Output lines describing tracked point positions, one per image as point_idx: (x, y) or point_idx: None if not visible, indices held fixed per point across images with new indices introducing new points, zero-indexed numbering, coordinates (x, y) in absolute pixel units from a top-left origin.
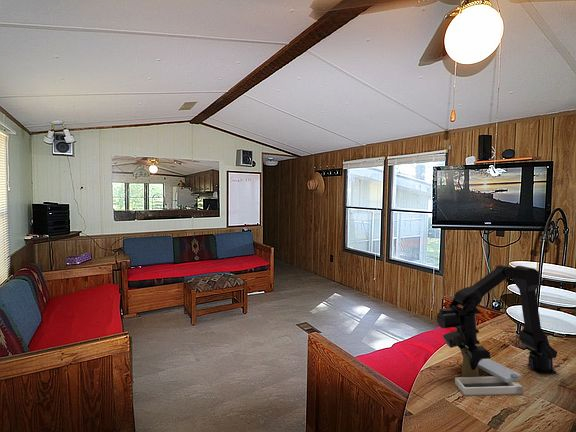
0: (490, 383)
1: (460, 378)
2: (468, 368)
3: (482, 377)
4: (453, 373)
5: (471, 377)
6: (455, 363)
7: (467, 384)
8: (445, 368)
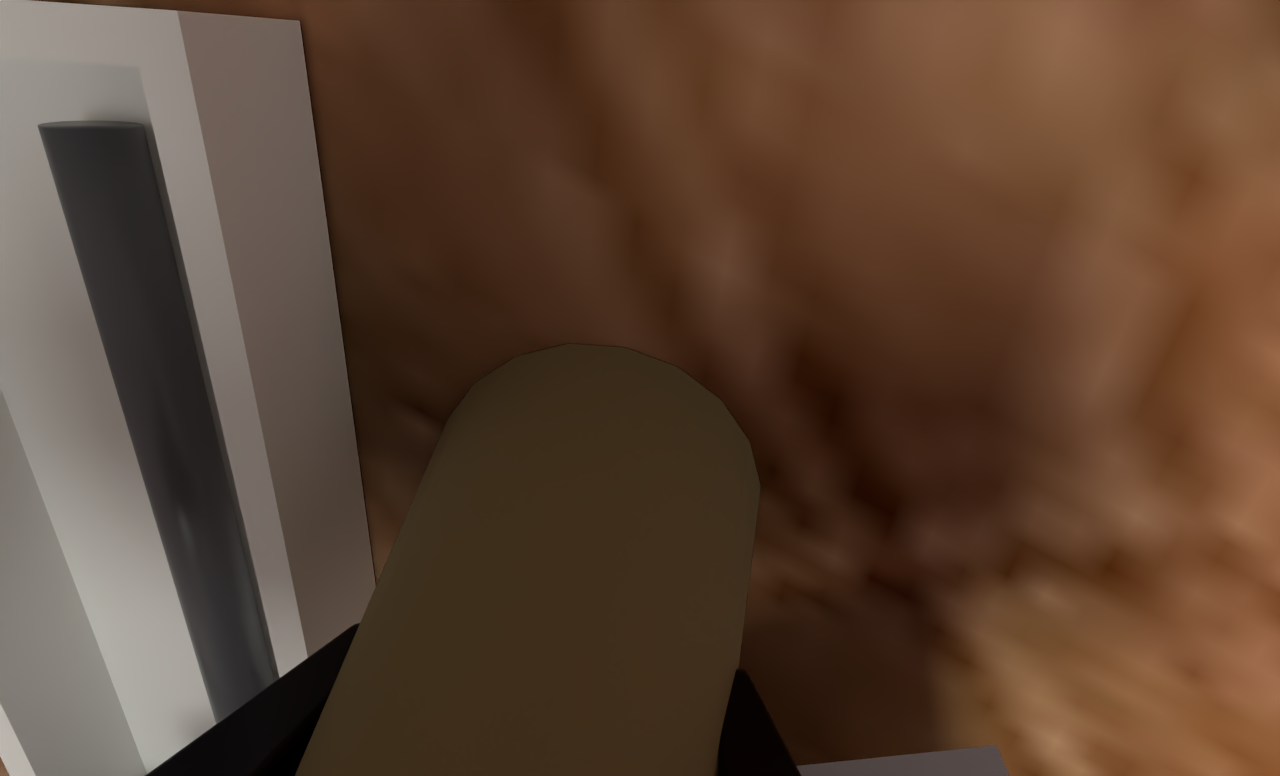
0: (196, 643)
1: (171, 166)
2: (383, 582)
3: (279, 639)
4: (809, 248)
5: (251, 452)
6: (1221, 522)
7: (72, 234)
8: (1111, 174)
